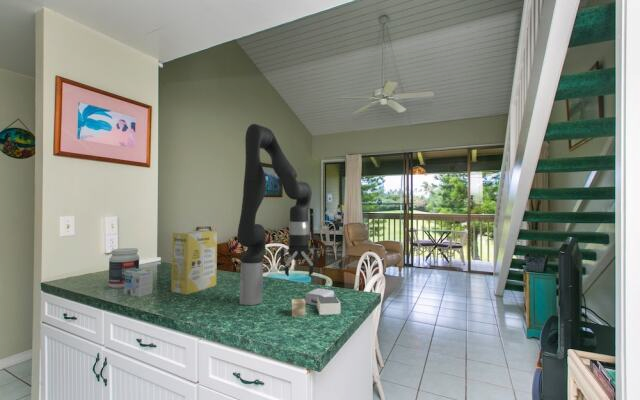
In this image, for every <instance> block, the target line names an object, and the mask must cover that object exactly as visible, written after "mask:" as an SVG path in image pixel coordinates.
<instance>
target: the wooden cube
mask: <svg viewBox="0 0 640 400" xmlns="http://www.w3.org/2000/svg"><path fill="white" fill-rule="evenodd" d="M291 317H306V303H305V298H291Z"/></svg>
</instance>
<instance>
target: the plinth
mask: <svg viewBox="0 0 640 400" xmlns="http://www.w3.org/2000/svg"><path fill="white" fill-rule="evenodd" d="M316 308H317V311H318V315H320V316H321V315H322V316H323V315H341V301H340V300H339V299H338V298H337V296H334V297H318V298H317V306H316Z"/></svg>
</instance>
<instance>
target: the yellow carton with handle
mask: <svg viewBox="0 0 640 400" xmlns="http://www.w3.org/2000/svg"><path fill="white" fill-rule="evenodd" d="M171 238H172V240H171V241H172V244H171V287H170V288H171V293H177V294H182V295H190V294H193V293H196V292H199V291H203V290H206V289H208V288H209V289H210V288H212V286H213V287H215V285H216V286H217V272H218V271H217V264H218V263H217V262H218V230H217V231H216V230H203V229H202V230H192V231H190V230H189V231H179V232H172V237H171Z"/></svg>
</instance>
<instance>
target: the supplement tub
mask: <svg viewBox="0 0 640 400" xmlns="http://www.w3.org/2000/svg"><path fill="white" fill-rule="evenodd" d="M138 252H139V249H138V248H135V247H124V248H123V247H122V248H115V249H112V250H111V251H110V254H111V256H110V257H109V259H108V260H109V261H108V286H109V287H110V288H113V289H124V282H125V271H128V270H133V269H140V255H139V254H138Z"/></svg>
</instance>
